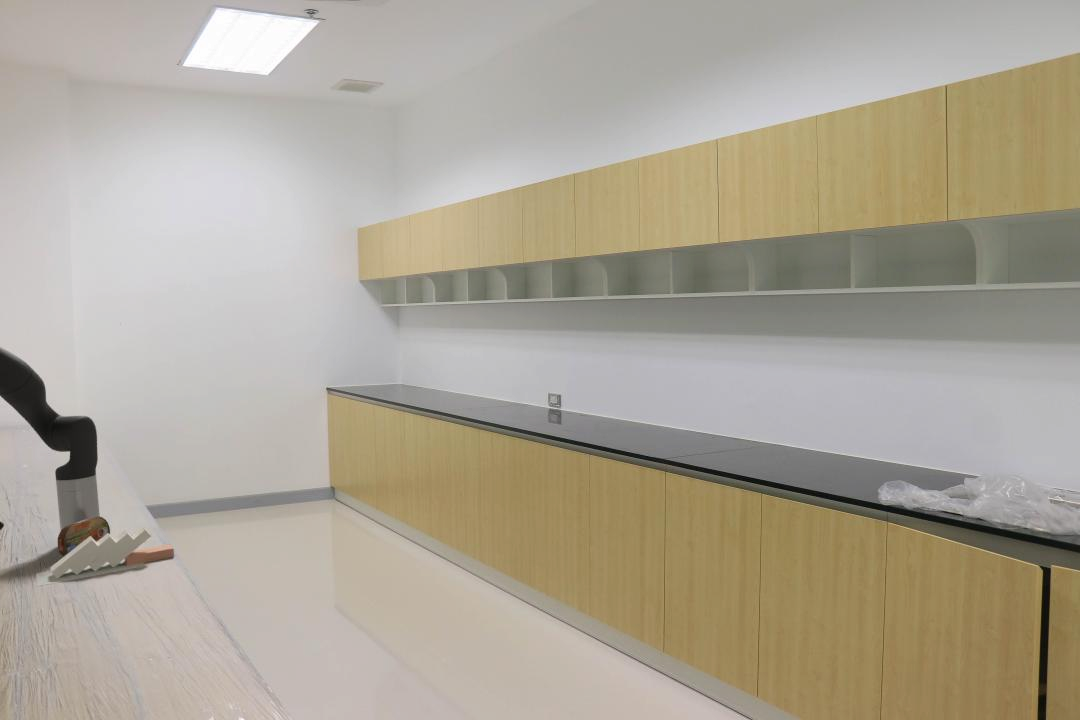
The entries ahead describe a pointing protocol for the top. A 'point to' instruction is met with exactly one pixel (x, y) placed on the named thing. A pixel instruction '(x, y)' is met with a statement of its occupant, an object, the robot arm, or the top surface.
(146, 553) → the domino
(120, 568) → the mat
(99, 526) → the tin
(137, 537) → the domino
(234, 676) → the top surface
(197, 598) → the top surface
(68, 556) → the domino
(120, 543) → the domino
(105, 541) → the domino
